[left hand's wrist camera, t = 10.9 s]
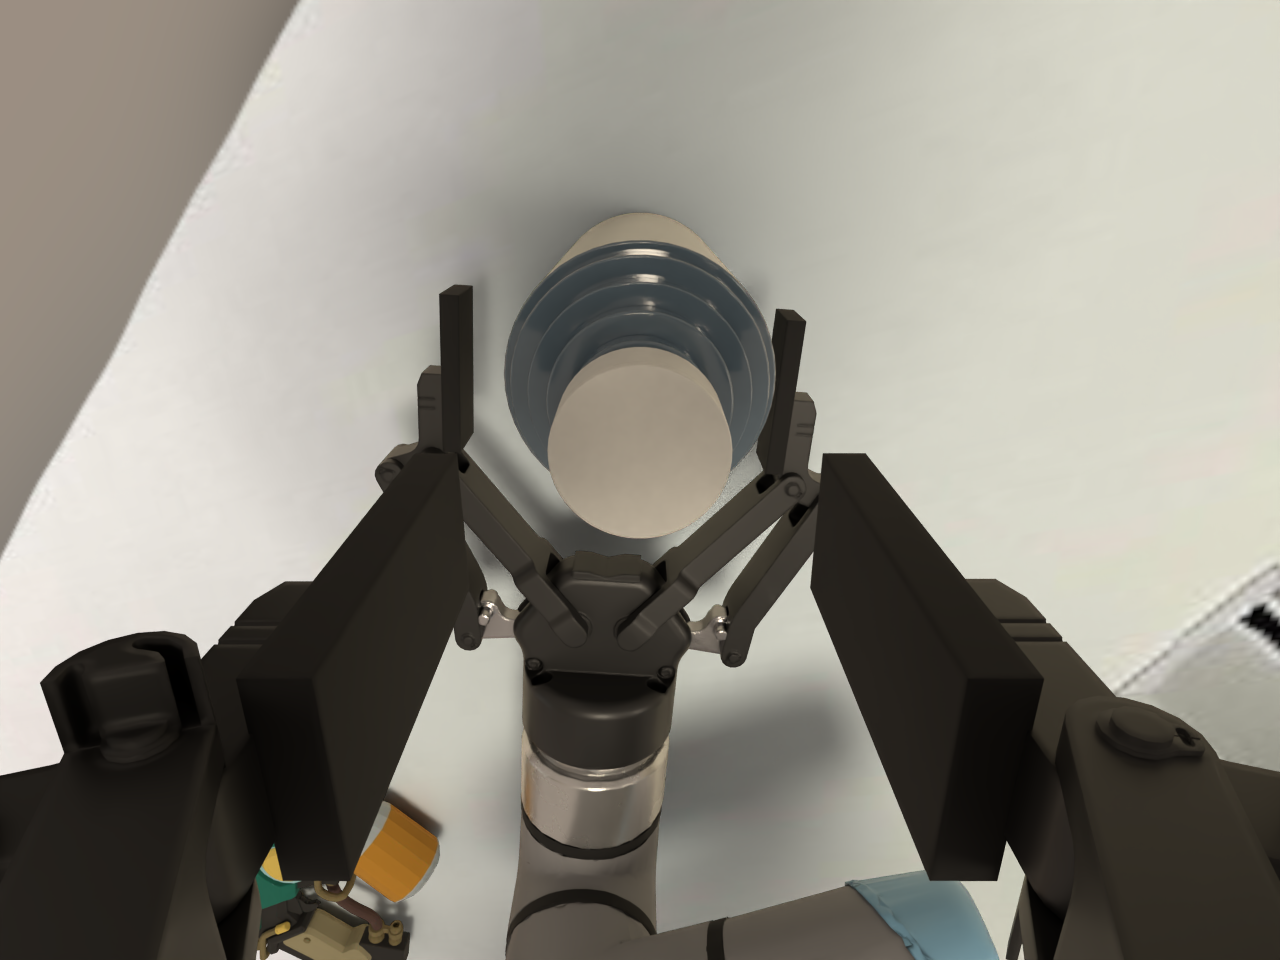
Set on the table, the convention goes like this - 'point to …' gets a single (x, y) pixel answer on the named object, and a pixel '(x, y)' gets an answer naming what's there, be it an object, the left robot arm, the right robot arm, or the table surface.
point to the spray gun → (387, 863)
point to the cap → (639, 443)
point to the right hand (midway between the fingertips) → (624, 301)
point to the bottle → (640, 324)
